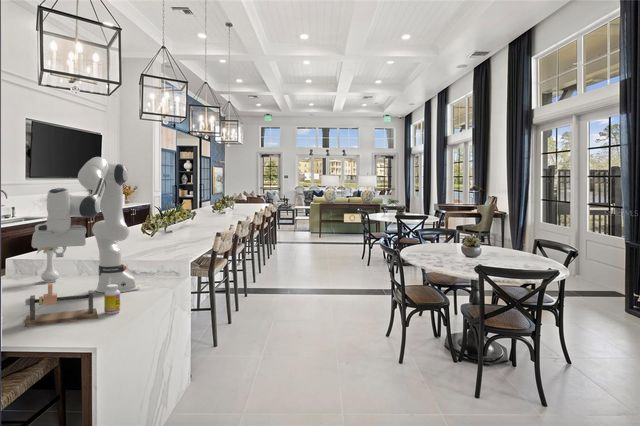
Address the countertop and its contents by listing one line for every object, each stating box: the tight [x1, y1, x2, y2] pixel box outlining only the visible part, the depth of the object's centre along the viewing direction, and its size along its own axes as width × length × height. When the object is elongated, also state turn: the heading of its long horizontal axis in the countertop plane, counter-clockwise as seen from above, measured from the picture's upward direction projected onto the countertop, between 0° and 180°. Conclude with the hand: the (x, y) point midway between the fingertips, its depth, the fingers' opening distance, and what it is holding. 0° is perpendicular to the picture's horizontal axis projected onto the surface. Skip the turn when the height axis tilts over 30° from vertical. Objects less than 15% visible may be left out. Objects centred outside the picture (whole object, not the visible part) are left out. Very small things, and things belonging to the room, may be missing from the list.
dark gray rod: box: [25, 294, 89, 307], centre depth 187 cm, size 24×4×4 cm, turn 121°
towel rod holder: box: [24, 289, 99, 327], centre depth 188 cm, size 27×11×11 cm, turn 121°
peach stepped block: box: [42, 282, 58, 306], centre depth 185 cm, size 5×4×9 cm
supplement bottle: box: [103, 284, 121, 315], centre depth 199 cm, size 7×7×13 cm
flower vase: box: [36, 247, 63, 284], centre depth 253 cm, size 13×18×25 cm
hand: (59, 257), depth 186 cm, fingers closed
